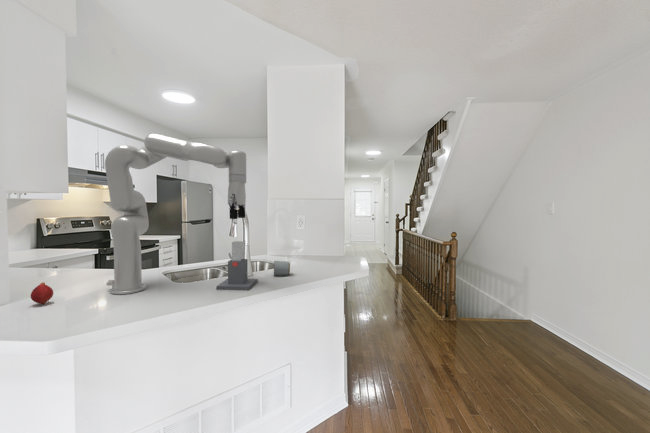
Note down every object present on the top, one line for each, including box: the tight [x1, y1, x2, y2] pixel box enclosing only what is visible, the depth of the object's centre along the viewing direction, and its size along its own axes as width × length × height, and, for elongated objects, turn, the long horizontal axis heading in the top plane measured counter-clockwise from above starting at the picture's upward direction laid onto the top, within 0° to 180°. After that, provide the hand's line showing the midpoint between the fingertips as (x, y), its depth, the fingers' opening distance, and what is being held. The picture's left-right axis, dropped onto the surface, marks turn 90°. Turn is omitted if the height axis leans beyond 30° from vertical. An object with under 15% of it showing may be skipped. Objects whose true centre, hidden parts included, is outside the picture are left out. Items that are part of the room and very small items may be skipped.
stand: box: [215, 258, 259, 291], centre depth 133 cm, size 14×14×12 cm
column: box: [231, 240, 245, 261], centre depth 133 cm, size 4×4×18 cm
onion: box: [30, 281, 54, 305], centre depth 106 cm, size 6×6×8 cm
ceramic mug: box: [273, 260, 291, 277], centre depth 155 cm, size 11×8×8 cm
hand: (237, 218), depth 131 cm, fingers open, 9 cm apart
